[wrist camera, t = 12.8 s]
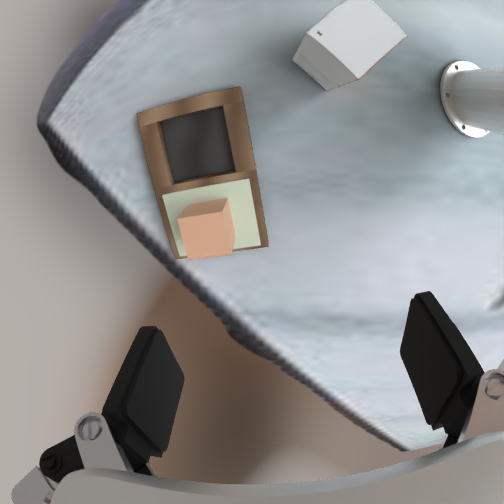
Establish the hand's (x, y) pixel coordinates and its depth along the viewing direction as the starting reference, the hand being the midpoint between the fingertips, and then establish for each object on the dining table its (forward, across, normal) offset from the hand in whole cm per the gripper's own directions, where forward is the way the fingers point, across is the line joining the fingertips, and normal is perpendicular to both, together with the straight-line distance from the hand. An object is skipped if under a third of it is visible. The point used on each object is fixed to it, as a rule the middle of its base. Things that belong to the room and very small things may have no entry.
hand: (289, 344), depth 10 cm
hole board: (+30, +9, -1) cm, 32 cm away
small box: (+31, -10, -15) cm, 35 cm away
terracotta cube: (+28, +9, +5) cm, 30 cm away
